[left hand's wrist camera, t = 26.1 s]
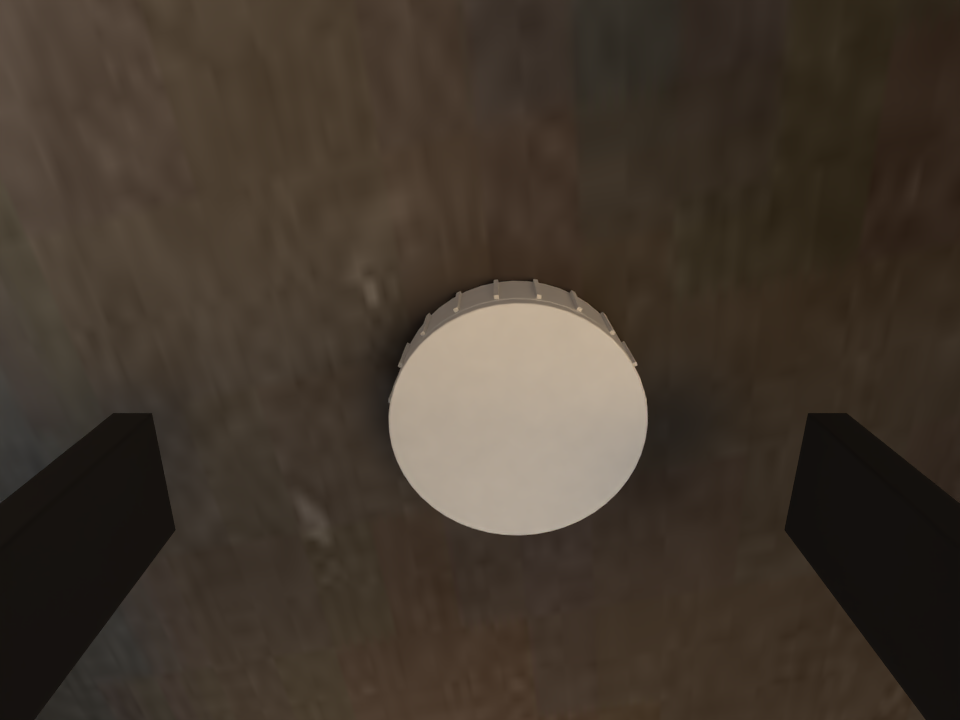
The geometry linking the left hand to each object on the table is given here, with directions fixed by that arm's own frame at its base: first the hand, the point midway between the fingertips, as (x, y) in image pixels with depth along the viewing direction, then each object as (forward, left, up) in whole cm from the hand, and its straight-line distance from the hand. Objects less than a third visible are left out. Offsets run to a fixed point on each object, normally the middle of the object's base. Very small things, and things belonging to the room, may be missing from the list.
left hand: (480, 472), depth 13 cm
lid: (0, -1, -2) cm, 2 cm away
